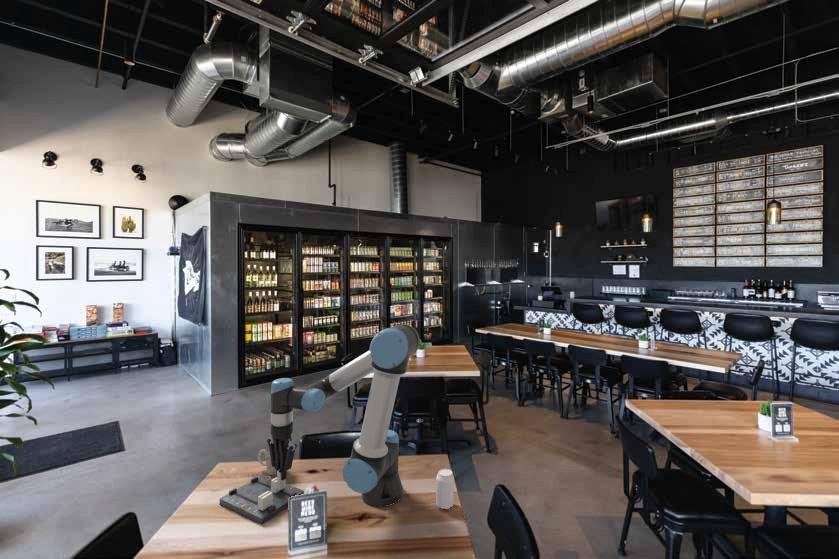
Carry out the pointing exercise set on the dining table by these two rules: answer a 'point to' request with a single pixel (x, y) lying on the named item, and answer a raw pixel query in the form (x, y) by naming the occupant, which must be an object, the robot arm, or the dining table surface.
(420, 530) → the dining table surface
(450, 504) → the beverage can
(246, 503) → the console
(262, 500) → the fader
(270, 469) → the mug
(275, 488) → the fader
